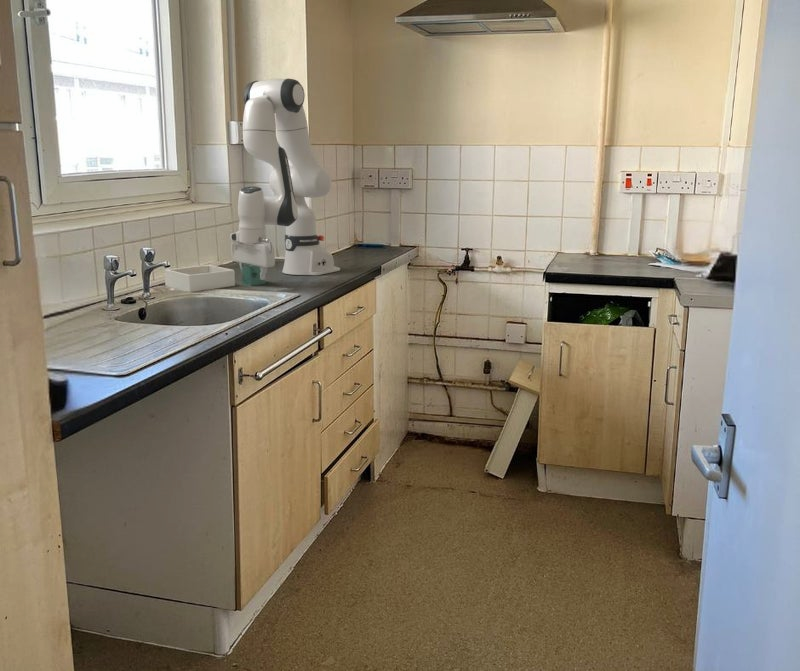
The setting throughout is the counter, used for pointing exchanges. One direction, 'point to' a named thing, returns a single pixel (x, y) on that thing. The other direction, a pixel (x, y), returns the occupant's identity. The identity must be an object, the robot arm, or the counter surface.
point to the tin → (251, 275)
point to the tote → (199, 278)
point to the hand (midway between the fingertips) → (253, 277)
